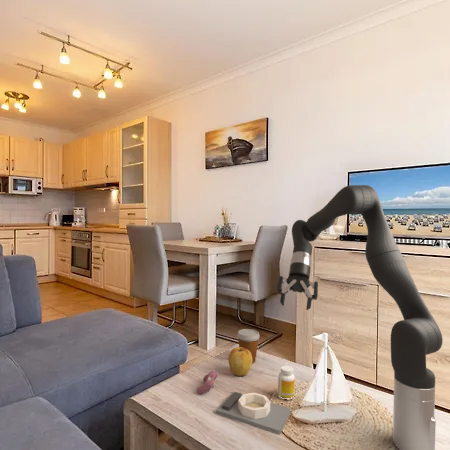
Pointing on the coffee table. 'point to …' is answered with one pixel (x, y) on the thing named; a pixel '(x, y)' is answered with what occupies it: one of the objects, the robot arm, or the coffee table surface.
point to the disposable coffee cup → (249, 341)
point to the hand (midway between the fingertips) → (294, 306)
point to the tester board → (261, 422)
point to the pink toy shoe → (208, 382)
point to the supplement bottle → (286, 382)
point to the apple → (240, 361)
